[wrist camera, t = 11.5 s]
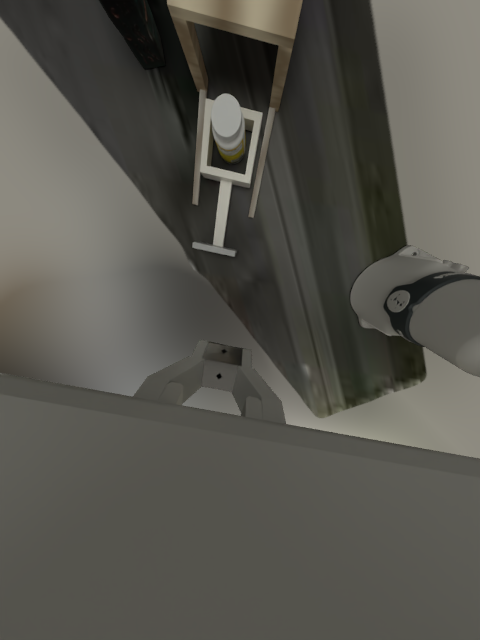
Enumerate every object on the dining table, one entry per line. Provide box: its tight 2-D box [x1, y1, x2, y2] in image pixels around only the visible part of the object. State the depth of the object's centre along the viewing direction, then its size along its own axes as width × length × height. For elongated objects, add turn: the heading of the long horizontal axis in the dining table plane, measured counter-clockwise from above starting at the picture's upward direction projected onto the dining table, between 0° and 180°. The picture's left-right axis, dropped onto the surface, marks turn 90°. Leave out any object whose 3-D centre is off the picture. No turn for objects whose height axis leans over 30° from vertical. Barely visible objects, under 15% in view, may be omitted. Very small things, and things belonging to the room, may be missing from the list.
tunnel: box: [167, 0, 303, 218], centre depth 22 cm, size 13×31×11 cm, turn 169°
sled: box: [192, 99, 263, 257], centre depth 30 cm, size 8×20×5 cm, turn 169°
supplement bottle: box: [211, 94, 246, 164], centre depth 26 cm, size 5×5×8 cm
